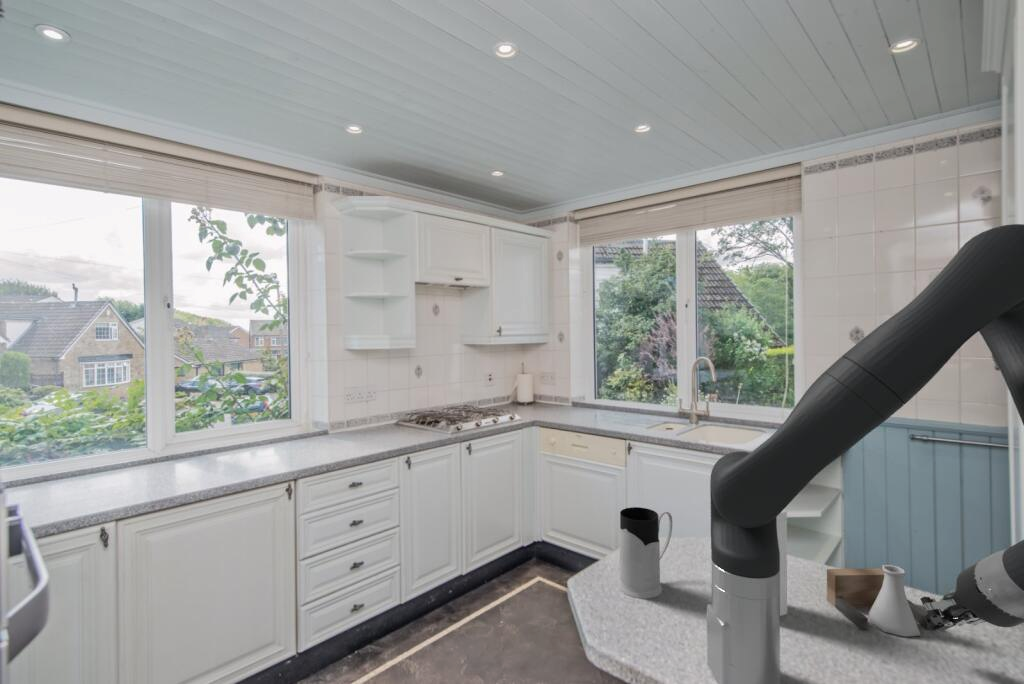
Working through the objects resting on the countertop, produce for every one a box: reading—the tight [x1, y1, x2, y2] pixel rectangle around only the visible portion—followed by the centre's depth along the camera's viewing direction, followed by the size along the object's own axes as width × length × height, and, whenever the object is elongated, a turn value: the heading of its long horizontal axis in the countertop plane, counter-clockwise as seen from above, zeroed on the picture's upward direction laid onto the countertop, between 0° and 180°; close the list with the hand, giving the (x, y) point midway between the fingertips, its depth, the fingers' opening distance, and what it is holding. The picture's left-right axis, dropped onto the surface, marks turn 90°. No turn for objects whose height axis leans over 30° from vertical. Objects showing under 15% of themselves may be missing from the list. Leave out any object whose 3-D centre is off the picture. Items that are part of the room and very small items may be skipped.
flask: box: [868, 564, 921, 637], centre depth 87 cm, size 7×7×10 cm
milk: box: [777, 509, 788, 617], centre depth 93 cm, size 6×6×22 cm
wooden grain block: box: [826, 567, 931, 631], centre depth 91 cm, size 12×10×6 cm
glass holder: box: [617, 506, 673, 600], centre depth 103 cm, size 9×14×15 cm, turn 123°
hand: (932, 623), depth 79 cm, fingers closed
